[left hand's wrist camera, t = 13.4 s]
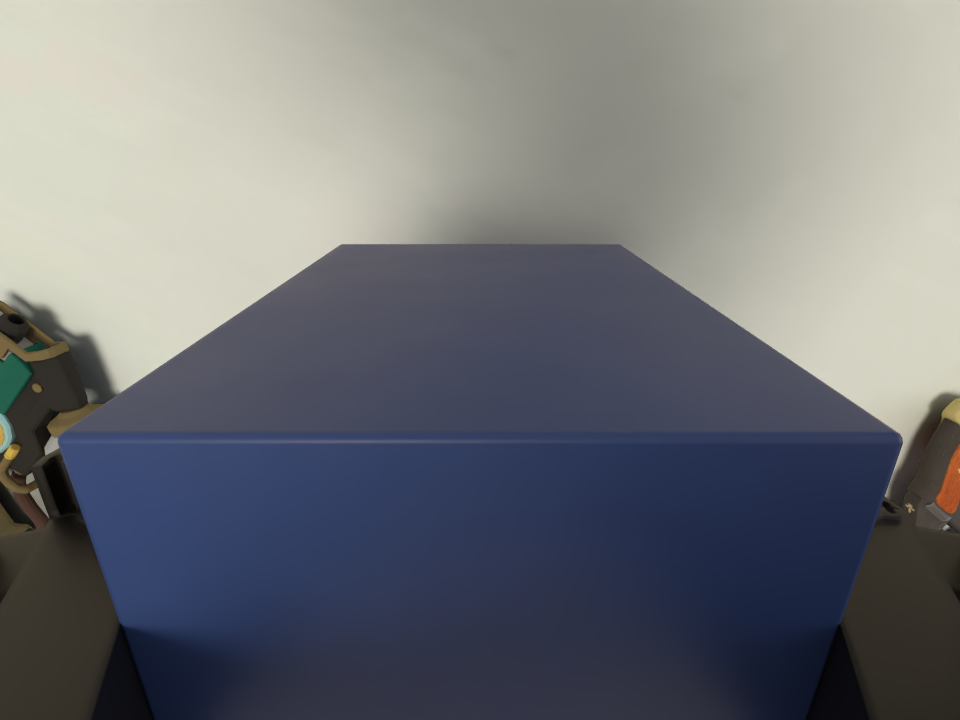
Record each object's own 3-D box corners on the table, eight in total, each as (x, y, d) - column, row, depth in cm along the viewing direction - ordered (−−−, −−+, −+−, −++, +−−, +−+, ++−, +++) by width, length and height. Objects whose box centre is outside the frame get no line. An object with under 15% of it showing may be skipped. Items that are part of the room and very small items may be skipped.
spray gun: (41, 572, 36) (-141, 401, 32) (218, 482, 32) (37, 271, 28) (-18, 624, 32) (-235, 437, 28) (176, 528, 28) (-43, 292, 24)
